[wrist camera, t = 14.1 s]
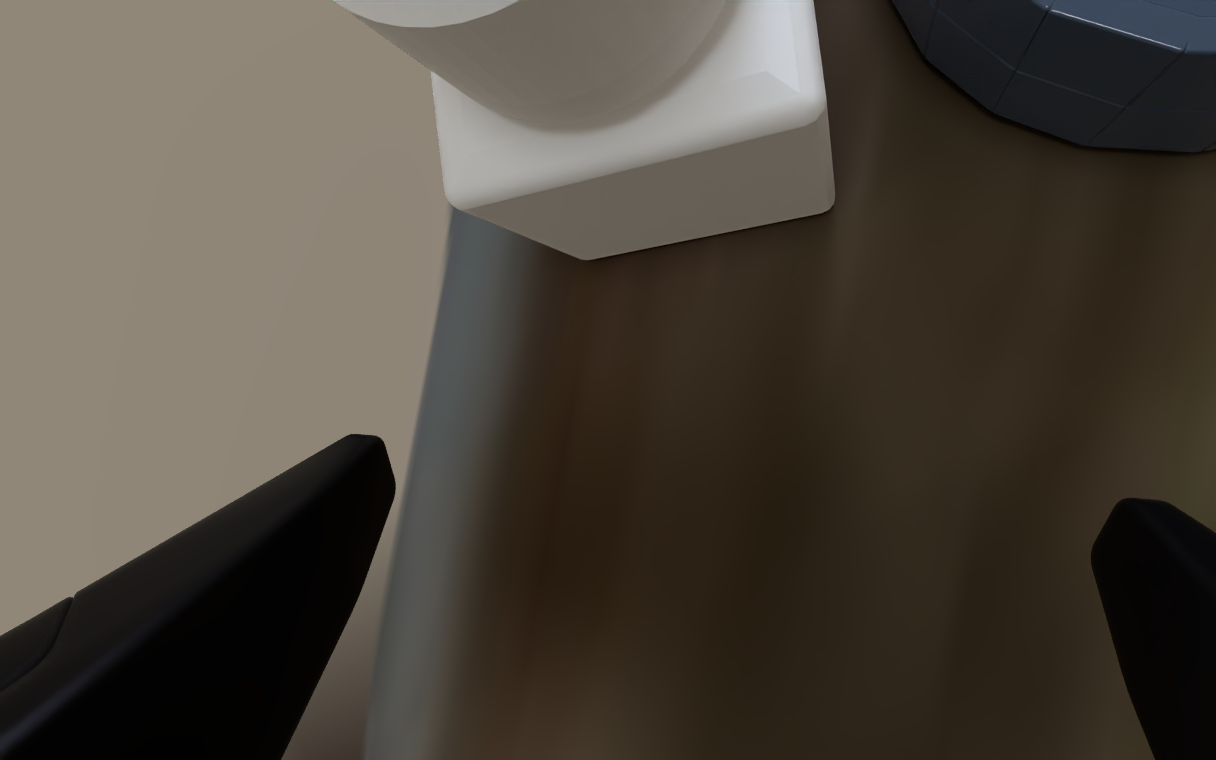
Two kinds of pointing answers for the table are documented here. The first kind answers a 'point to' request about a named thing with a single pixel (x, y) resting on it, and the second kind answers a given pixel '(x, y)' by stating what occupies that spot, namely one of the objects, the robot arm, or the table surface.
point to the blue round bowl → (1081, 65)
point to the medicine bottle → (622, 114)
